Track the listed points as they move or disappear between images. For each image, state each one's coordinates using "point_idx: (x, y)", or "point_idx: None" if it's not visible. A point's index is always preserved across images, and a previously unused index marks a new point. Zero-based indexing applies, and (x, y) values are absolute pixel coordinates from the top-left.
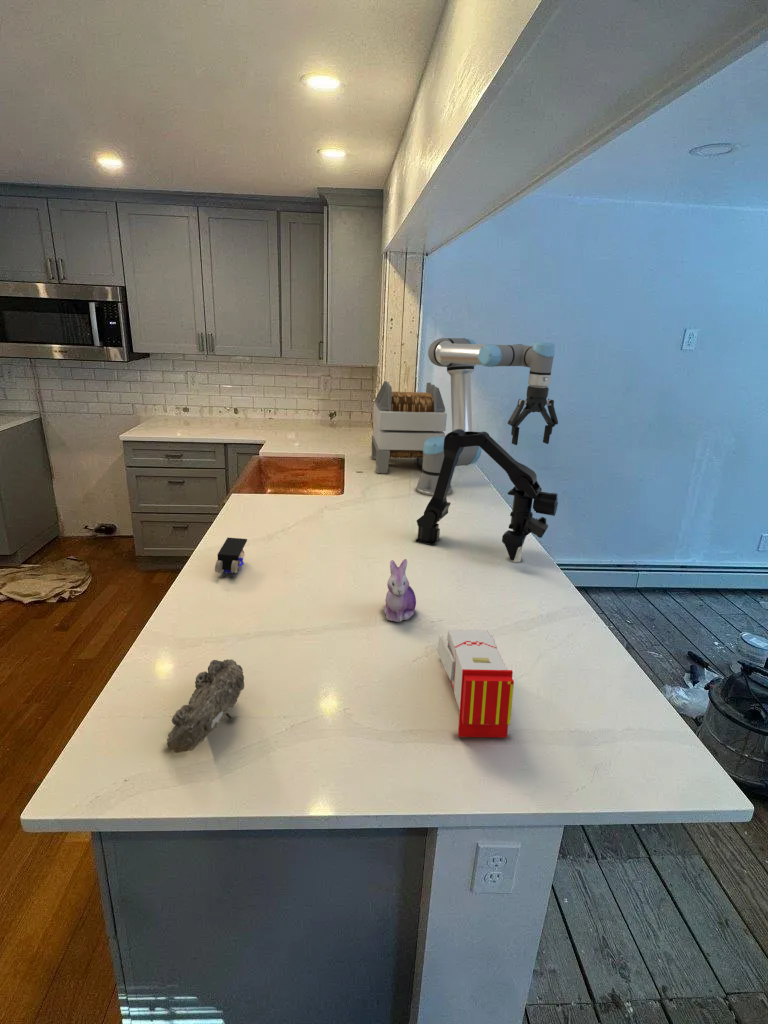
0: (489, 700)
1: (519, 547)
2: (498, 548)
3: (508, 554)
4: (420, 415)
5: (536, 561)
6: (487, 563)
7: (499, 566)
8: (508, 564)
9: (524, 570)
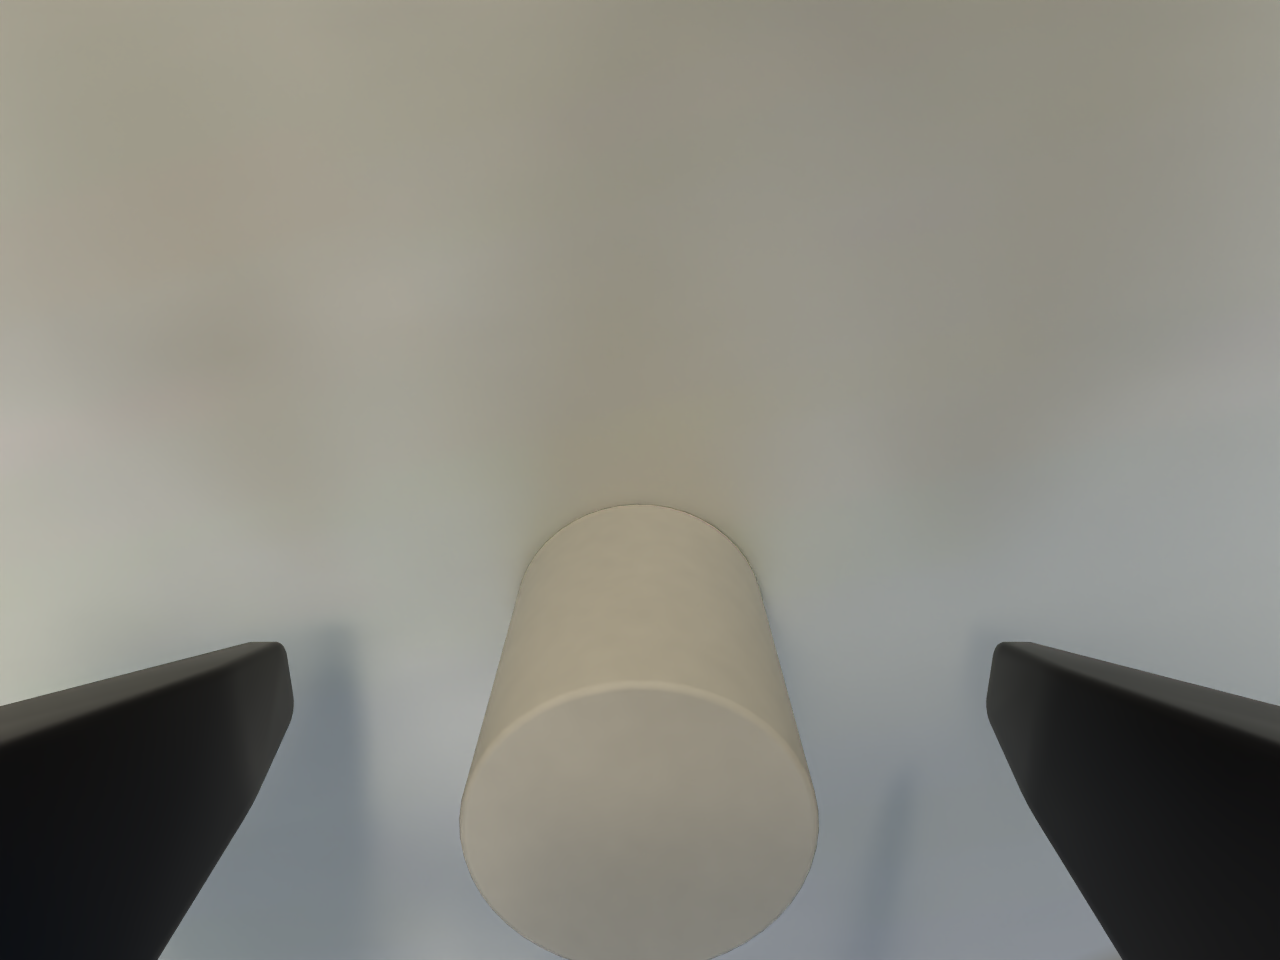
0: None
1: (657, 903)
2: (1190, 64)
3: (109, 678)
4: None
5: (787, 948)
6: (10, 76)
7: (66, 402)
8: (312, 548)
9: (244, 859)
